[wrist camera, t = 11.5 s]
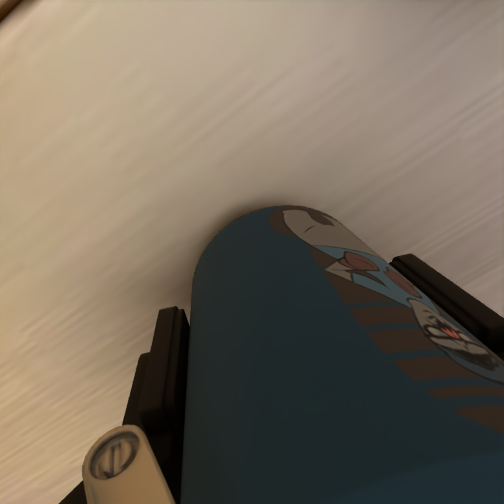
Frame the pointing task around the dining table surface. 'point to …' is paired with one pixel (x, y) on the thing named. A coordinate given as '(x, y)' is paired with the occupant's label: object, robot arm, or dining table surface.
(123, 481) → the robot arm
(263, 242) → the soda can
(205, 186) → the dining table surface
